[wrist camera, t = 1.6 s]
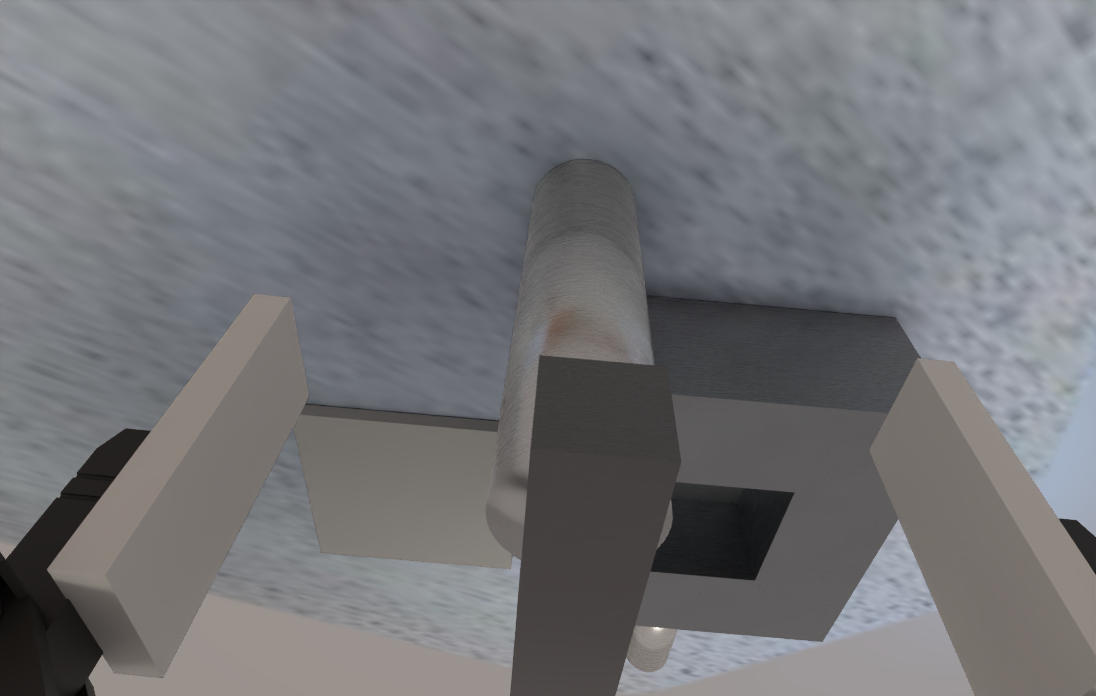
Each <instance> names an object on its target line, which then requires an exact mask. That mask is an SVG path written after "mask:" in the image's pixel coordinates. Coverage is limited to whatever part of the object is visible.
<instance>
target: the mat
mask: <svg viewBox="0 0 1096 696" xmlns="http://www.w3.org/2000/svg"><path fill="white" fill-rule="evenodd" d="M498 425H499V421H488V420H477V419H465V418H454V417H443V416H431V415H420V414H408V413H397V412H385V411H374V410H363V409H351V408H340V407H328V406H317V405H305V406H304V407H303V409H302V411H301V413H300V415H299V417H298V419H297V421H296V423H295V425H294V427H293V428H294V432H295V437H296V441H297V446H298V451H299V455H300V460H301V464H302V469H303V473H304V478H305V482H306V487H307V491H308V496H309V500H310V505H311V510H312V514H313V519H314V523H315V528H316V532H317V537H318V541H319V546H320V550H321V553H329V554H341V555H352V556H364V557H376V558H387V559H399V560H410V561H422V562H434V563H445V564H457V565H468V566H480V567H492V568H503V569H511V562H512V554H511V553H509V552H508V551H507V550H506V549H504V548H503V547H502V546H501V545H500V544H499V543H498V542H497V541H496V539H495V538H494V536H493V535H492V533H491V531H490V529H489V527H488V524H487V520H486V503H487V497H488V490H489V484H490V477H491V471H492V464H493V458H494V451H495V445H496V438H497V432H498Z"/></svg>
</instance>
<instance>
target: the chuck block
mask: <svg viewBox="0 0 1096 696" xmlns="http://www.w3.org/2000/svg"><path fill="white" fill-rule="evenodd" d="M646 298H647V306H648V314H649V322H650V331H651V339H652V347H653V355H654V364H655V365H657V366H668V373H669V380H670V387H671V394H672V401H673V408H674V414H675V421H676V428H677V435H678V442H679V449H680V456H681V465H680V469H679V472H678V476H677V479H676V483H675V486H674V490H673V493H672V497H671V504H672V515H673V520H672V525H671V529H670V531H669V534H668V536H667V537H666V539H665V540H664V542H663V543H662V544H661V545H660V546H659V548H658V549H657V550H656V553H655V557H654V560H653V564H652V567H651V571H650V575H649V578H648V582H647V585H646V589H645V592H644V596H643V599H642V603H641V606H640V610H639V613H638V617H637V620H636V624H635V627H634V631H633V635H632V638H631V642H630V645H629V649H628V652H627V656H626V657H627V659H628V661H629V662H630V663H631V664H632V665H633V666H634V667H636V668H637V669H639V670H642V671H646V672H653V671H657V670H659V669H660V668H662V667H663V666H664V665H665V663H666V661H667V658H668V655H669V653H670V650H671V647H672V644H673V641H674V639H675V636H676V633H677V630H678V629H680V630H691V631H703V632H714V633H726V634H738V635H749V636H761V637H773V638H784V639H796V640H808V641H819V642H823V640H824V638H825V637H826V635H827V634H828V632H829V630H830V629H831V627H832V626H833V624H834V622H835V621H836V619H837V617H838V616H839V614H840V613H841V611H842V609H843V608H844V606H845V604H846V603H847V601H848V600H849V598H850V596H851V595H852V593H853V591H854V590H855V588H856V587H857V585H858V583H859V582H860V580H861V578H862V577H863V575H864V574H865V572H866V570H867V569H868V567H869V566H870V564H871V562H872V561H873V559H874V557H875V556H876V554H877V553H878V551H879V549H880V548H881V546H882V544H883V543H884V541H885V540H886V538H887V536H888V535H889V533H890V531H891V530H892V528H893V527H894V525H895V523H896V522H897V520H898V516H897V514H896V512H895V509H894V507H893V505H892V503H891V500H890V498H889V496H888V493H887V491H886V489H885V486H884V484H883V482H882V479H881V477H880V475H879V472H878V470H877V468H876V465H875V463H874V461H873V459H872V456H871V454H870V452H869V450H870V448H871V446H872V444H873V442H874V440H875V438H876V436H877V434H878V433H879V431H880V429H881V427H882V425H883V423H884V421H885V419H886V417H887V415H888V413H889V412H890V410H891V408H892V406H893V404H894V402H895V400H896V398H897V396H898V394H899V392H900V391H901V389H902V387H903V385H904V383H905V381H906V379H907V377H908V375H909V373H910V371H911V370H912V368H913V366H914V364H915V362H916V360H917V358H919V359H921V358H920V356H919V354H918V353H917V351H916V350H915V348H914V346H913V345H912V343H911V342H910V340H909V338H908V337H907V335H906V334H905V332H904V330H903V329H902V327H901V326H900V324H899V323H898V321H897V319H896V318H890V317H879V316H868V315H856V314H845V313H834V312H823V311H811V310H800V309H789V308H777V307H766V306H755V305H744V304H732V303H721V302H710V301H698V300H687V299H676V298H665V297H653V296H646ZM520 570H521V568H520ZM519 582H520V580H519ZM518 595H519V592H518ZM517 607H518V604H517Z"/></svg>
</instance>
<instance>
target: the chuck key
mask: <svg viewBox="0 0 1096 696" xmlns="http://www.w3.org/2000/svg"><path fill="white" fill-rule="evenodd" d="M680 465H681V456H680V449H679V442H678V435H677V428H676V421H675V414H674V408H673V401H672V394H671V387H670V380H669V373H668V366H657V365H655V364H654V355H653V347H652V339H651V331H650V322H649V314H648V306H647V298H646V289H645V281H644V273H643V265H642V256H641V248H640V240H639V232H638V223H637V215H636V207H635V199H634V194H633V192H632V189H631V187H630V185H629V183H628V182H627V180H626V179H625V177H624V176H623V175H622V174H621V173H620V172H618V171H617V170H616V169H615V168H613V167H611V166H610V165H608V164H605V163H603V162H599V161H596V160H589V159H580V160H573V161H569V162H566V163H563V164H561V165H559V166H557V167H555V168H554V169H552V170H551V171H550V172H549V173H548V174H546V175H545V177H544V178H543V179H542V180H541V182H540V183H539V185H538V187H537V189H536V191H535V194H534V198H533V204H532V211H531V217H530V224H529V230H528V237H527V243H526V250H525V256H524V263H523V269H522V276H521V282H520V289H519V295H518V302H517V308H516V315H515V321H514V328H513V334H512V341H511V347H510V354H509V360H508V367H507V373H506V380H505V386H504V393H503V399H502V406H501V412H500V419H499V425H498V432H497V438H496V445H495V451H494V458H493V464H492V471H491V477H490V484H489V490H488V497H487V503H486V520H487V524H488V527H489V529H490V531H491V533H492V535H493V536H494V538H495V539H496V541H497V542H498V543H499V544H500V545H501V546H502V547H503V548H504V549H506V550H507V551H508V552H509V553H511V554H512V555H514V556H515V557H517V558H518V559H520V560H521V570H520V582H519V595H518V607H517V619H516V631H515V643H514V656H513V668H512V681H511V693H510V696H615V694H616V691H617V688H618V684H619V680H620V677H621V673H622V670H623V666H624V663H625V659H626V656H627V652H628V649H629V645H630V642H631V638H632V635H633V631H634V627H635V624H636V620H637V617H638V613H639V610H640V606H641V603H642V599H643V596H644V592H645V589H646V585H647V582H648V578H649V575H650V571H651V567H652V564H653V560H654V557H655V553H656V550H657V549H658V548H659V546H660V545H661V544H662V543H663V542H664V540H665V539H666V537H667V536H668V534H669V531H670V529H671V525H672V520H673V515H672V504H671V497H672V493H673V490H674V486H675V483H676V479H677V476H678V472H679V469H680Z"/></svg>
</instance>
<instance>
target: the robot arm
mask: <svg viewBox="0 0 1096 696" xmlns="http://www.w3.org/2000/svg"><path fill="white" fill-rule="evenodd" d="M308 398H309V391H308V385H307V380H306V375H305V370H304V364H303V359H302V354H301V349H300V344H299V338H298V333H297V328H296V323H295V318H294V312H293V307H292V302H291V298H290V297H280V296H269V295H259V294H254V295H253V296H252V298H251V299H250V300H249V302H248V303H247V304H246V306H245V307H244V308H243V310H242V311H241V312H240V314H239V315H238V316H237V318H236V319H235V320H234V322H233V323H232V324H231V326H230V327H229V328H228V330H227V331H226V332H225V334H224V335H223V336H222V338H221V339H220V340H219V342H218V343H217V344H216V346H215V347H214V348H213V350H212V351H211V352H210V353H209V355H208V356H207V357H206V359H205V360H204V361H203V363H202V364H201V365H200V367H199V368H198V369H197V371H196V372H195V373H194V375H193V376H192V377H191V379H190V380H189V381H188V383H187V384H186V385H185V387H184V388H183V389H182V391H181V392H180V393H179V395H178V396H177V397H176V399H175V400H174V401H173V403H172V404H171V405H170V407H169V408H168V409H167V411H166V412H165V413H164V415H163V416H162V417H161V419H160V420H159V421H158V423H157V424H156V425H155V427H154V428H153V429H152V430H151V431H146V430H136V429H124V430H123V431H121V432H120V433H119V434H117V435H116V436H114V437H113V438H111V439H110V440H108V441H107V442H106V443H104V444H103V445H101V446H100V447H98V448H97V449H96V450H95V451H94V453H93V454H92V455H91V456H90V457H89V459H88V460H87V461H86V462H85V464H84V465H83V466H82V467H81V468H80V470H79V471H78V472H77V477H76V478H72V479H71V481H70V482H69V483H68V484H67V485H66V487H65V488H64V489H63V490H62V492H61V496H60V498H56V499H55V500H54V501H53V503H52V504H51V505H50V506H49V507H48V509H47V510H46V511H45V512H44V514H43V515H42V516H41V517H40V518H39V520H38V521H37V522H36V523H35V524H34V526H33V527H32V528H31V529H30V531H29V532H28V533H27V534H26V535H25V537H24V538H23V539H22V540H21V542H20V543H19V544H18V545H17V546H16V548H15V549H14V550H13V551H12V553H11V554H10V555H9V556H8V557H7V559H6V560H5V558H4V557H3V555H2V554H1V553H0V696H95V692H94V687H93V685H92V684H91V682H90V680H89V678H88V677H89V675H90V674H91V672H92V670H93V669H94V667H95V665H96V664H97V662H98V660H99V659H100V657H101V655H103V657H104V658H105V660H106V661H107V663H108V664H109V666H110V667H111V669H112V670H113V672H114V673H117V674H127V675H137V676H147V677H157V678H163V677H164V675H165V673H166V671H167V669H168V667H169V666H170V664H171V662H172V660H173V658H174V656H175V654H176V652H177V650H178V648H179V646H180V644H181V642H182V641H183V639H184V637H185V635H186V633H187V631H188V629H189V627H190V625H191V623H192V621H193V619H194V617H195V615H196V614H197V612H198V610H199V608H200V606H201V604H202V602H203V600H204V598H205V596H206V594H207V592H208V590H209V589H210V587H211V585H212V583H213V581H214V579H215V577H216V575H217V573H218V571H219V569H220V567H221V565H222V563H223V562H224V560H225V558H226V556H227V554H228V552H229V550H230V548H231V546H232V544H233V542H234V540H235V538H236V537H237V535H238V533H239V531H240V529H241V527H242V525H243V523H244V521H245V519H246V517H247V515H248V513H249V511H250V510H251V508H252V506H253V504H254V502H255V500H256V498H257V496H258V494H259V492H260V490H261V488H262V486H263V485H264V483H265V481H266V479H267V477H268V475H269V473H270V471H271V469H272V467H273V465H274V463H275V461H276V459H277V458H278V456H279V454H280V452H281V450H282V448H283V446H284V444H285V442H286V440H287V438H288V436H289V434H290V433H291V431H292V429H293V427H294V425H295V423H296V421H297V419H298V417H299V415H300V413H301V411H302V409H303V407H304V406H305V404H306V402H307V400H308ZM869 452H870V454H871V456H872V459H873V461H874V463H875V465H876V468H877V470H878V472H879V475H880V477H881V479H882V482H883V484H884V486H885V489H886V491H887V493H888V496H889V498H890V500H891V503H892V505H893V507H894V509H895V512H896V514H897V516H898V519H899V521H900V523H901V526H902V528H903V530H904V533H905V535H906V537H907V540H908V542H909V544H910V547H911V549H912V551H913V553H914V556H915V558H916V560H917V563H918V565H919V567H920V570H921V572H922V574H923V577H924V579H925V581H926V584H927V586H928V588H929V591H930V593H931V595H932V597H933V600H934V602H935V604H936V607H937V609H938V611H939V614H940V616H941V618H942V620H943V623H944V625H945V628H946V630H947V632H948V635H949V637H950V639H951V641H952V644H953V646H954V648H955V651H956V653H957V655H958V658H959V660H960V662H961V665H962V667H963V669H964V672H965V674H966V676H967V678H968V681H969V683H970V685H971V688H972V690H973V692H974V694H975V696H1096V537H1095V536H1094V535H1093V534H1091V533H1090V532H1089V531H1088V530H1087V529H1086V528H1085V527H1084V526H1082V525H1081V524H1080V523H1079V522H1078V521H1077V520H1069V519H1058V518H1057V516H1056V514H1055V513H1054V511H1053V510H1052V508H1051V507H1050V505H1049V504H1048V502H1047V501H1046V499H1045V498H1044V496H1043V495H1042V493H1041V492H1040V490H1039V489H1038V487H1037V486H1036V484H1035V483H1034V481H1033V480H1032V478H1031V477H1030V475H1029V474H1028V472H1027V471H1026V469H1025V468H1024V466H1023V465H1022V463H1021V462H1020V460H1019V459H1018V457H1017V456H1016V454H1015V453H1014V451H1013V450H1012V448H1011V447H1010V445H1009V444H1008V442H1007V441H1006V439H1005V438H1004V436H1003V435H1002V433H1001V432H1000V430H999V429H998V427H997V426H996V424H995V423H994V421H993V420H992V418H991V417H990V415H989V414H988V412H987V411H986V409H985V408H984V406H983V405H982V403H981V402H980V400H979V399H978V397H977V396H976V394H975V393H974V391H973V390H972V388H971V387H970V385H969V384H968V382H967V380H966V379H965V377H964V376H963V374H962V373H961V371H960V370H959V368H958V367H957V365H956V364H955V362H950V361H940V360H929V359H919V358H917V360H916V362H915V364H914V366H913V368H912V370H911V371H910V373H909V375H908V377H907V379H906V381H905V383H904V385H903V387H902V389H901V391H900V392H899V394H898V396H897V398H896V400H895V402H894V404H893V406H892V408H891V410H890V412H889V413H888V415H887V417H886V419H885V421H884V423H883V425H882V427H881V429H880V431H879V433H878V434H877V436H876V438H875V440H874V442H873V444H872V446H871V448H870V450H869Z"/></svg>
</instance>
